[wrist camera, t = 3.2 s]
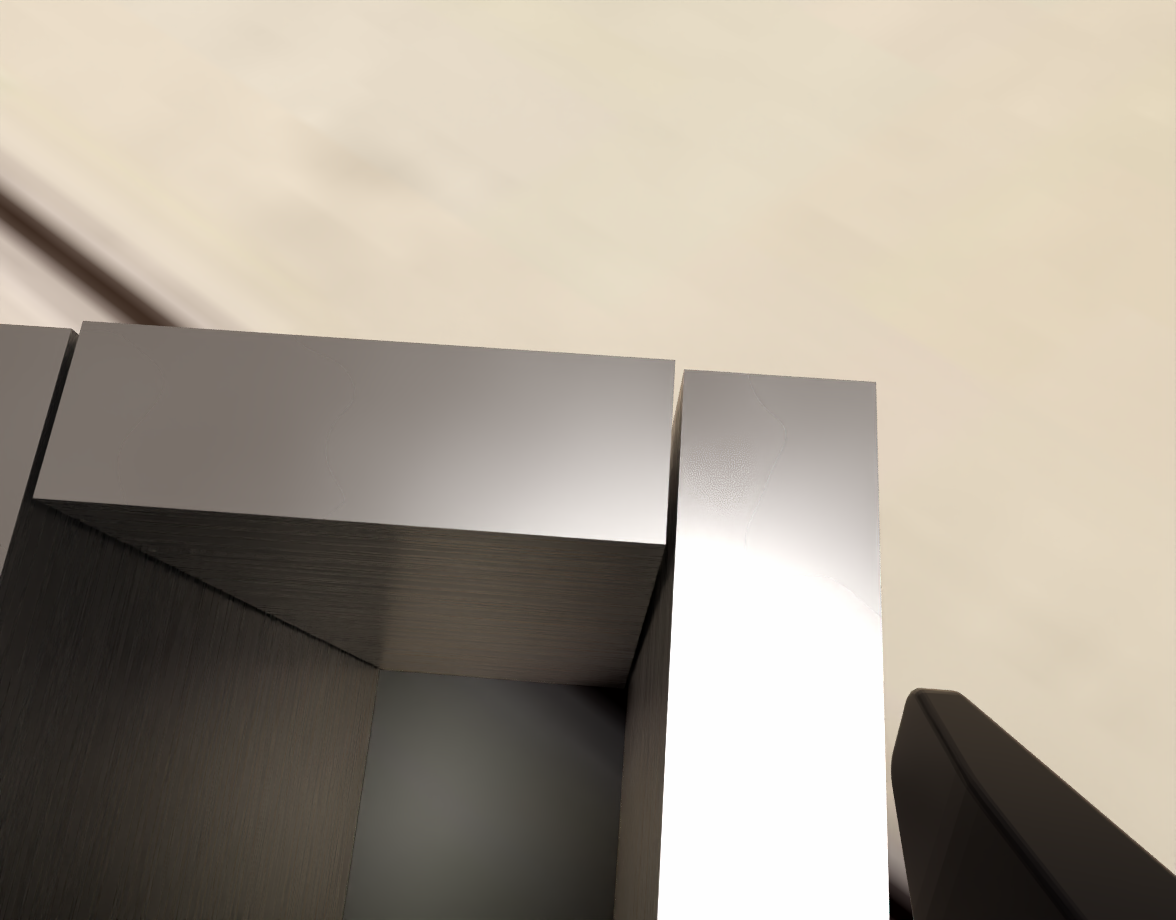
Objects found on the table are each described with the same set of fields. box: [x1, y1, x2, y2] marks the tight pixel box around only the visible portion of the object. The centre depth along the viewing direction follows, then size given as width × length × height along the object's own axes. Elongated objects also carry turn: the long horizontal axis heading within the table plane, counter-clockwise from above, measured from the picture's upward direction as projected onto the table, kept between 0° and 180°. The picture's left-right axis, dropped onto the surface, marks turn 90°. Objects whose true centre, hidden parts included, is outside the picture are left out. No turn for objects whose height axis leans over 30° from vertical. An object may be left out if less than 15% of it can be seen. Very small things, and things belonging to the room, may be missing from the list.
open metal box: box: [0, 321, 889, 920], centre depth 10 cm, size 7×7×10 cm
